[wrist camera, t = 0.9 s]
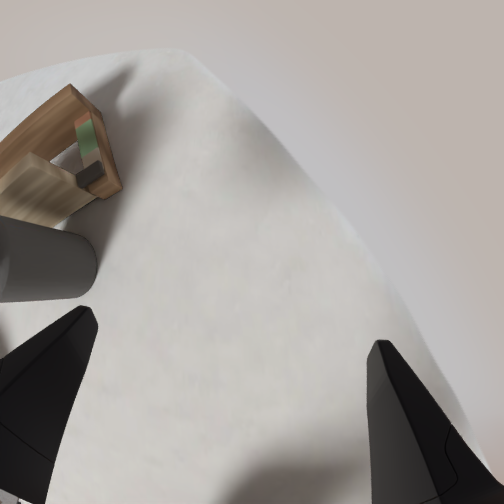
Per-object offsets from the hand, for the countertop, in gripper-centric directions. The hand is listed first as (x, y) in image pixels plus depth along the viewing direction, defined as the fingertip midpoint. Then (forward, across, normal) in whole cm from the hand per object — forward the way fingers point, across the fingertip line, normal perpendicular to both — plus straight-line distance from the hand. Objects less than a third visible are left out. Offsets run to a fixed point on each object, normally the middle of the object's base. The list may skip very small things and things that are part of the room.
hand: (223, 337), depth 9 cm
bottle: (+12, +17, +8) cm, 22 cm away
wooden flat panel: (+14, +19, +5) cm, 24 cm away
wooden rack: (+16, +21, +2) cm, 27 cm away
